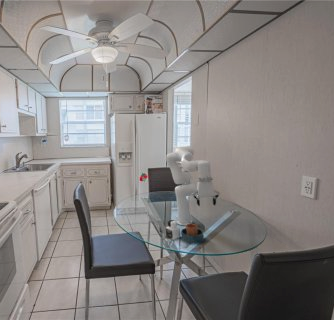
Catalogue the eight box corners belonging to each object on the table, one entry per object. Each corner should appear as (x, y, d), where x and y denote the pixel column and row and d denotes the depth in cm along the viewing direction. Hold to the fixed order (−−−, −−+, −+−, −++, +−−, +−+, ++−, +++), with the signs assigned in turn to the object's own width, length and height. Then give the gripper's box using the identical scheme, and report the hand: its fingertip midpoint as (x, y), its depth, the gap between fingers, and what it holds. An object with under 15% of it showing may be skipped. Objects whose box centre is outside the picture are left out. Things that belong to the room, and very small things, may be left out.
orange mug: (198, 241, 141) (197, 228, 140) (187, 240, 143) (186, 227, 143) (197, 234, 151) (196, 222, 150) (186, 233, 153) (186, 221, 153)
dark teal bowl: (177, 239, 148) (176, 231, 148) (190, 233, 155) (190, 226, 155) (194, 246, 136) (193, 238, 136) (208, 239, 143) (207, 231, 143)
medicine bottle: (166, 236, 153) (164, 220, 153) (173, 234, 156) (172, 218, 156) (172, 240, 147) (171, 223, 146) (180, 237, 150) (179, 221, 149)
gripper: (217, 178, 142) (218, 203, 143) (190, 179, 145) (191, 204, 146) (220, 179, 135) (222, 206, 136) (192, 181, 138) (194, 207, 139)
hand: (206, 205), depth 141 cm, fingers open, 9 cm apart
